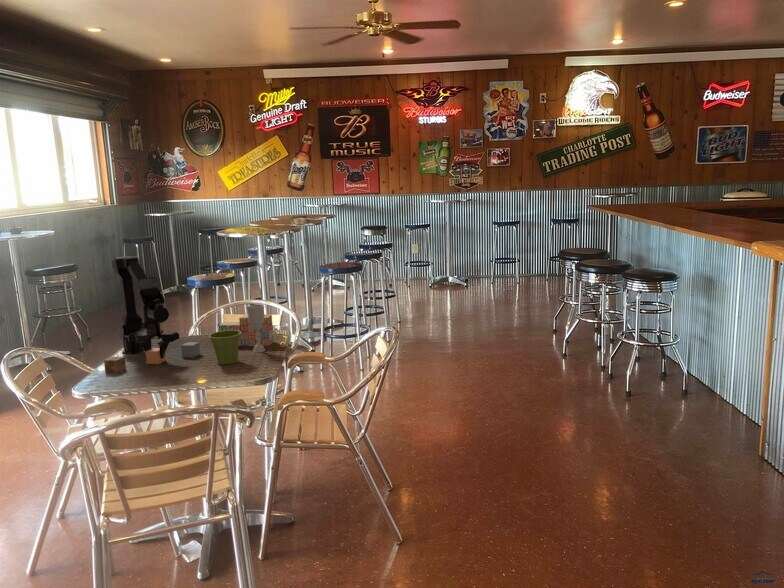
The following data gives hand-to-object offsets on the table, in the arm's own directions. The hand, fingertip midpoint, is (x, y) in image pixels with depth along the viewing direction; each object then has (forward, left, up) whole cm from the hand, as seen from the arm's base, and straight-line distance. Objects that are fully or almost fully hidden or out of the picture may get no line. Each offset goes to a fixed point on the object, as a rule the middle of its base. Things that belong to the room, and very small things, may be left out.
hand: (156, 358), depth 234 cm
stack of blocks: (+24, +29, -2) cm, 38 cm away
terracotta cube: (0, 0, -2) cm, 2 cm away
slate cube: (+9, +10, -2) cm, 14 cm away
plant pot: (+29, +2, -2) cm, 29 cm away
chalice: (+34, +19, -2) cm, 39 cm away
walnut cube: (-9, -12, -2) cm, 15 cm away
